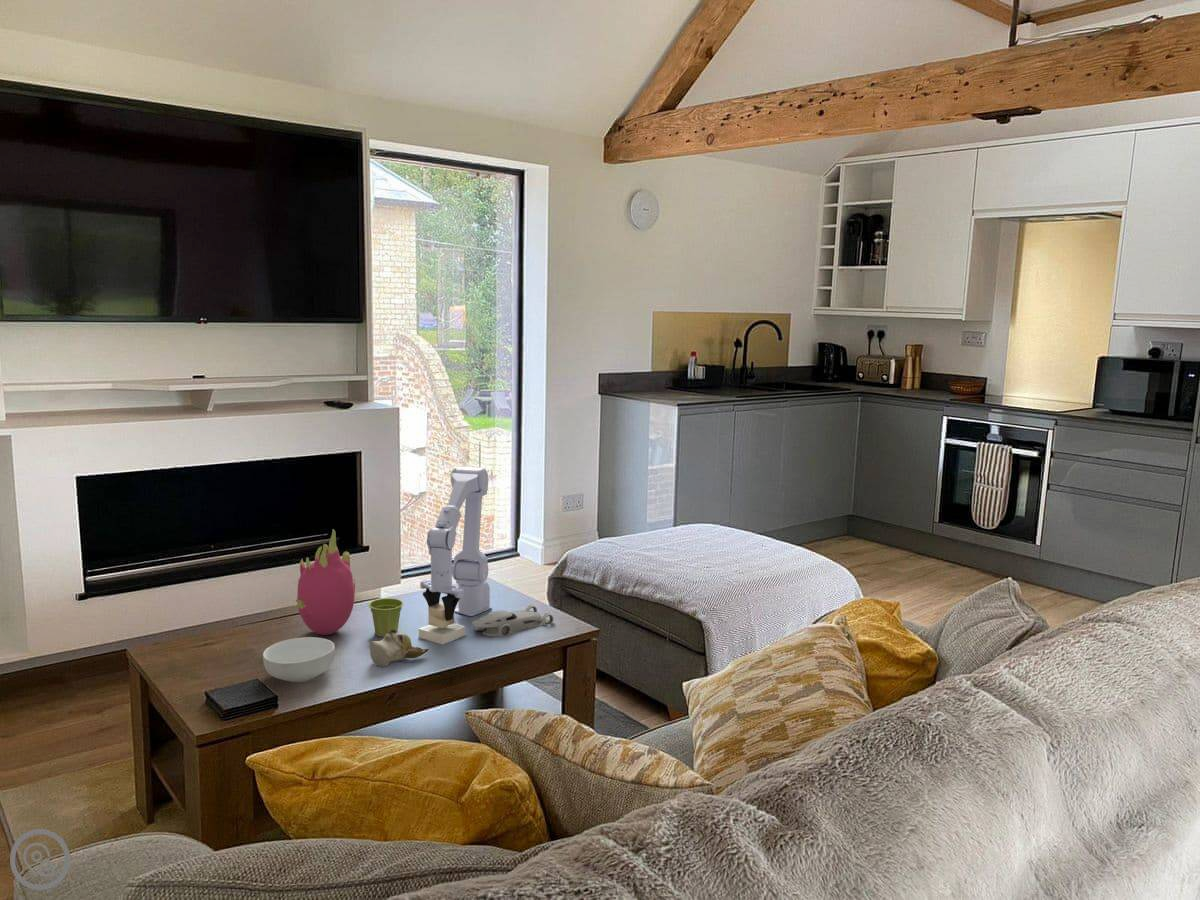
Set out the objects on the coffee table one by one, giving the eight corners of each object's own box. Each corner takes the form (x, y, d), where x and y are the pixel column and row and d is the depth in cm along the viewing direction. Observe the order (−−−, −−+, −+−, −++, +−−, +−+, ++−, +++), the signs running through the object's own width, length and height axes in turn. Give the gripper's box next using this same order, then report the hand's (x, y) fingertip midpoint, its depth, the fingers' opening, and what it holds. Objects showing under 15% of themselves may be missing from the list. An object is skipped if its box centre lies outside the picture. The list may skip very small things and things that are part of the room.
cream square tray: (441, 628, 256) (441, 619, 255) (465, 635, 251) (465, 626, 250) (418, 637, 248) (418, 628, 248) (442, 644, 243) (442, 635, 243)
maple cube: (441, 619, 252) (440, 602, 251) (454, 623, 250) (454, 605, 249) (428, 624, 248) (428, 607, 247) (442, 628, 245) (441, 610, 245)
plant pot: (408, 628, 255) (407, 598, 254) (397, 640, 246) (397, 609, 245) (376, 626, 256) (375, 597, 255) (364, 638, 247) (363, 608, 246)
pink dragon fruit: (341, 619, 261) (338, 519, 256) (368, 631, 252) (366, 527, 248) (285, 635, 248) (281, 530, 243) (311, 648, 239) (308, 539, 234)
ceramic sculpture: (358, 630, 229) (405, 619, 240) (357, 663, 230) (404, 650, 241) (384, 641, 222) (431, 628, 234) (383, 674, 223) (429, 660, 235)
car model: (556, 624, 262) (557, 608, 261) (484, 642, 247) (484, 624, 246) (535, 613, 270) (535, 598, 270) (464, 630, 256) (464, 613, 255)
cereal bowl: (297, 658, 232) (296, 632, 231) (349, 669, 226) (348, 642, 225) (248, 683, 217) (247, 655, 216) (303, 695, 210) (302, 666, 209)
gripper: (412, 569, 247) (412, 616, 249) (450, 578, 239) (451, 627, 241) (430, 563, 253) (430, 609, 255) (468, 572, 245) (468, 620, 247)
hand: (441, 617), depth 249 cm, fingers closed on maple cube, 5 cm apart
